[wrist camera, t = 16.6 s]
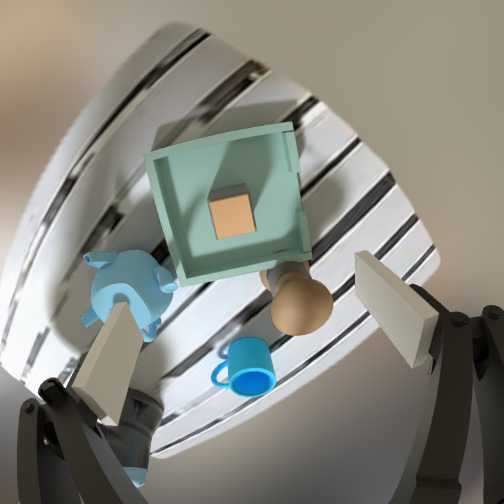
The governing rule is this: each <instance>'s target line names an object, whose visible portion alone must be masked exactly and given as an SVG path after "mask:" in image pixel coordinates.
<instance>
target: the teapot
mask: <svg viewBox="0 0 504 504" xmlns="http://www.w3.org/2000/svg"><path fill="white" fill-rule="evenodd" d="M83 258H84V260H85V262H86V264H87V265H91V266H93V267H96V268H99V270H98V272H97V273H96V275H95V277H94V279H93V282H92V286H91V304H92V307H91V308H90V309H89V310H87V311H86V312H85V313H84V314H83V315H82V316H81V317H80V318H79V319H80V321H81V322H82V323H83V325H84V326H85V327H86V328H88V327H89V326H90V325H92V324H93V323H94V322H95V321H97V320H98V319H99V318H100V319H101V320H102V322H103V323H105V321H106V319H107V318H108V316H109V314H110V312H111V311H112V309H113V307H114V306H115V304H116V303H121V302H127V304H128V306H129V308H130V310H131V312H132V314H133V317H134V319H135V321H136V323H137V325H138V327H139V329H140V331H141V333H142V335H143V337H144V341H145V342H151V341H153V340H154V339H155V338H156V335H157V327H159V326H160V325H161V319H160V316H161V315H162V314H163V313H164V312H165V311H166V309H167V308H168V306H169V305H170V303H171V301H172V297H173V291H175V290H176V289H177V288H178V285H177V284H176V283H173V277H172V275H171V273H170V272H169V271H168V270H167V269H166V268H164V267H161V266H160V265H159V264H158V262H157V261H156V260H155V259H154V258H153V257H152V256H151V255H150V254H149V253H147V252H145V251H143V250H128V251H124V252H120V253H117V252H88V253H87V254H85V255H83ZM147 326H149V335H148V334H147V333H146V331H145V330H144V328H145V327H147Z"/></svg>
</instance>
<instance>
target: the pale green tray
mask: <svg viewBox="0 0 504 504" xmlns="http://www.w3.org/2000/svg"><path fill="white" fill-rule="evenodd" d="M292 130H294V129H293V124H292V121H291V122H284V123H277V124H270V125H264V126H257V127H252V128H246V129H241V130H235V131H230V132H226V133H221V134H216V135H212V136H207V137H203V138H199V139H195V140H191V141H187V142H183V143H179V144H176V145H172V146H168V147H165V148H161V149H158V150H155V151H151V152H148V153H145V154H143V156H144V161H145V165H146V169H147V173H148V177H149V181H150V185H151V189H152V193H153V197H154V201H155V204H156V208H157V211H158V215H159V219H160V222H161V226H162V229H163V232H164V236H165V239H166V242H167V246H168V249H169V252H170V255H171V258H172V261H173V264H174V267H175V271H176V274H177V276H178V279H179V282H180V285H181V287H185V286H190V285H195V284H200V283H205V282H210V281H215V280H219V279H224V278H229V277H234V276H238V275H243V274H248V273H253V272H257V271H262V270H266V269H271V268H275V267H276V266H277V265H279V264H280V263H283V262H286V261H296V262H302V261H307V260H311V259H312V252H311V251H312V250H311V241H310V233H309V225H308V217H307V214H306V213H305V212H304V211H303V210H302V204H301V197H300V191H299V184H298V178H297V172H301V169H300V163H299V157H298V151H297V145H296V140H295V134H294V132H289V131H292ZM242 183H245V184H246V186H247V187H248V189H249V191H250V196H251V201H252V206H253V211H254V216H255V221H256V227H257V231H256V232H251V233H246V234H242V235H237V236H233V237H228V238H223V239H219V240H216V236H215V232H214V228H213V224H212V220H211V216H210V212H209V208H208V204H207V197H208V195H209V192H210V190H214V189H219V188H223V187H228V186H232V185H237V184H242ZM282 249H285V250H283V251H279V250H282ZM276 251H277V253H276Z"/></svg>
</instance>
